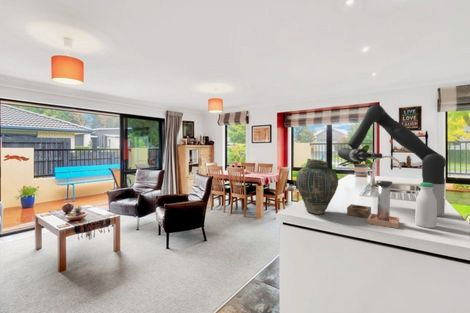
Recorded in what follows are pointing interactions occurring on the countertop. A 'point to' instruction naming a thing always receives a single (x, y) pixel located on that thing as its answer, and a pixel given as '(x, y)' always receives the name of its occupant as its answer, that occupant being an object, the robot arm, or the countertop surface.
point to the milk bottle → (426, 207)
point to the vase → (316, 185)
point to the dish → (392, 221)
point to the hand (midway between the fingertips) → (373, 155)
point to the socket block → (359, 211)
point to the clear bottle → (383, 200)
